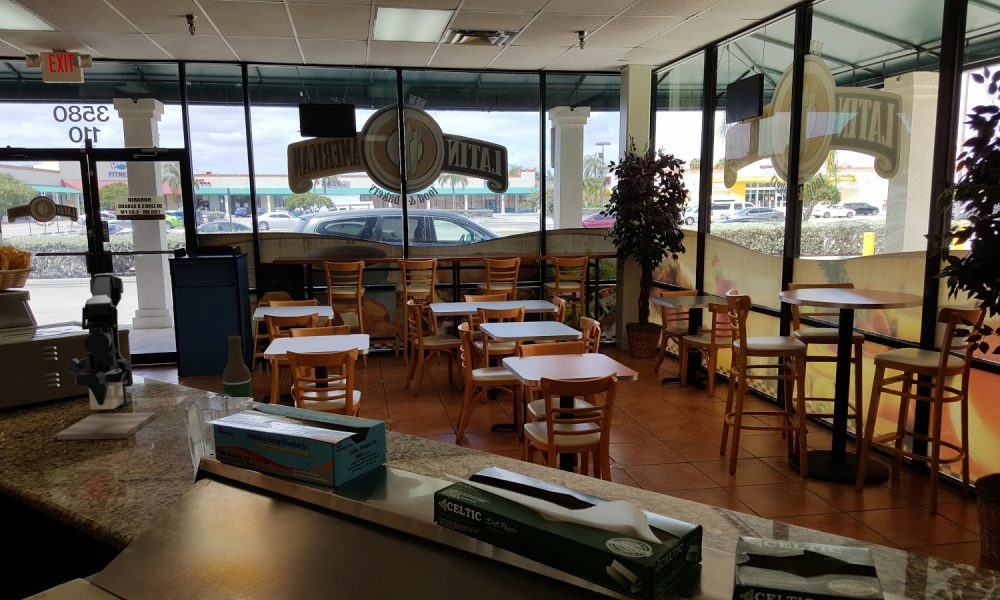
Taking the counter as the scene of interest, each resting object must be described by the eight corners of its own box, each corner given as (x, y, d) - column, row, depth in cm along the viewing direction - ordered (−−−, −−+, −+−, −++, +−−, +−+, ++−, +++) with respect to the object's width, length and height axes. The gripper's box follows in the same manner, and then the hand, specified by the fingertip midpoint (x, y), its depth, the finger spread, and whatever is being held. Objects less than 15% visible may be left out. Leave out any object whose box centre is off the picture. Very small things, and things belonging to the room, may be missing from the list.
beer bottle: (219, 418, 200) (213, 338, 196) (238, 410, 207) (233, 333, 203) (239, 421, 197) (235, 339, 193) (258, 413, 204) (254, 335, 201)
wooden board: (93, 418, 199) (92, 413, 199) (156, 417, 200) (155, 412, 200) (57, 439, 182) (56, 434, 181) (126, 438, 183) (126, 432, 182)
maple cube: (102, 403, 193) (100, 382, 192) (123, 402, 193) (122, 382, 193) (90, 409, 187) (88, 388, 186) (113, 408, 187) (111, 387, 187)
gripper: (90, 340, 197) (95, 392, 199) (51, 354, 178) (57, 412, 180) (129, 340, 197) (134, 392, 199) (95, 354, 179) (100, 411, 181)
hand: (106, 401), depth 190 cm, fingers closed on maple cube, 6 cm apart
